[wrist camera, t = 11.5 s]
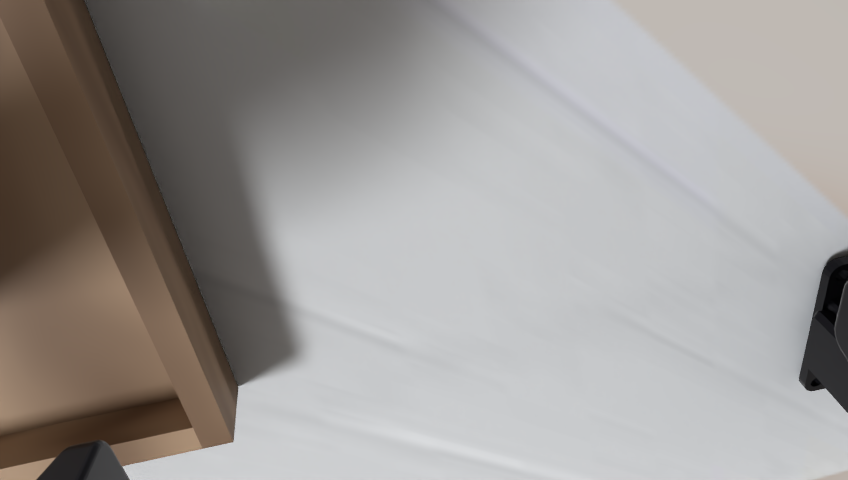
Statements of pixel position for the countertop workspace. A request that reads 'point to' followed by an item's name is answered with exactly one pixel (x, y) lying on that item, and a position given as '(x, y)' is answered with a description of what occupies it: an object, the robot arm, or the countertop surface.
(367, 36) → the countertop surface
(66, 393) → the walnut tray
